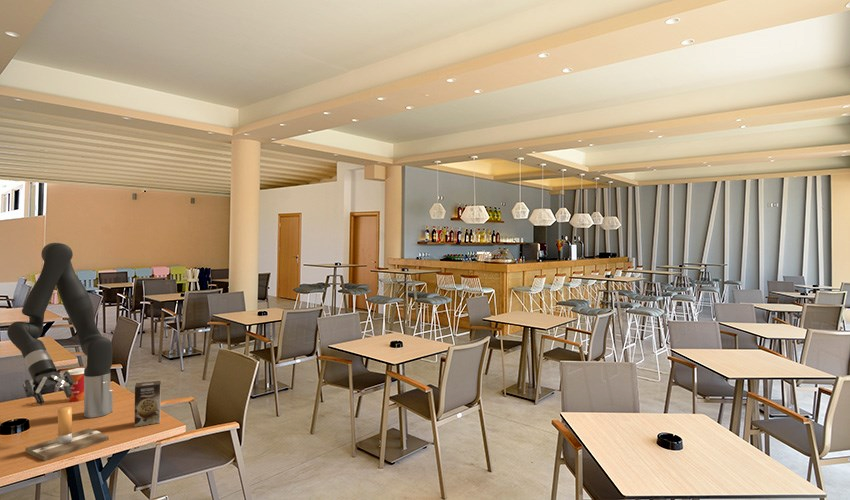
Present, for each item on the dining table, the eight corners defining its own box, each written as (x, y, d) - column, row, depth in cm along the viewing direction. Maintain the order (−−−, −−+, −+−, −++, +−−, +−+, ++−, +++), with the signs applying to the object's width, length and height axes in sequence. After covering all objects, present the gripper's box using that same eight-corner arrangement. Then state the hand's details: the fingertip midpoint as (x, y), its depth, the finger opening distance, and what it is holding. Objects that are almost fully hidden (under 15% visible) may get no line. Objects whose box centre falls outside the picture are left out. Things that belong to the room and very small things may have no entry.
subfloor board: (88, 432, 183) (88, 427, 183) (108, 439, 176) (108, 434, 176) (25, 451, 165) (25, 446, 165) (44, 461, 158) (44, 455, 158)
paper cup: (62, 401, 218) (62, 371, 217) (80, 396, 225) (79, 367, 225) (73, 403, 215) (73, 372, 214) (90, 398, 222) (90, 368, 222)
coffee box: (134, 427, 188) (133, 386, 187) (135, 421, 193) (135, 382, 193) (160, 423, 192) (160, 383, 192) (160, 418, 198) (160, 379, 197)
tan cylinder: (68, 438, 172) (68, 406, 172) (74, 441, 170) (74, 407, 170) (55, 442, 169) (55, 409, 169) (61, 445, 167) (61, 411, 167)
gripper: (20, 363, 171) (36, 399, 165) (65, 354, 183) (81, 388, 178) (13, 375, 173) (29, 412, 168) (58, 366, 186) (74, 400, 181)
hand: (56, 399), depth 173 cm, fingers open, 8 cm apart
